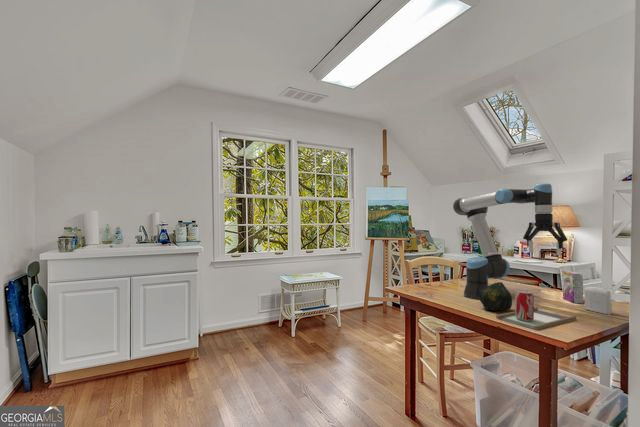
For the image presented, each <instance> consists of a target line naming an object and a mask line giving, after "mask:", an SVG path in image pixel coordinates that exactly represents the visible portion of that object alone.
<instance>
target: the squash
mask: <svg viewBox="0 0 640 427" xmlns="http://www.w3.org/2000/svg"><path fill="white" fill-rule="evenodd" d="M479 300H480V303H481V305H482V306H483V308H484V309H486V310H488V311H493V312H494V311H509V310H510V309H511V307H513V306H512V305H513V297H512V294H511V292H510V291H509V290H508V289H507V287H506V286H505V285H504V284H503V282H502V281H501V282H500V281H499V282H494V283H492V284H490V285H489V284H488V286H487V287H485V288H484V289H482V291H481V293H480V299H479Z"/></svg>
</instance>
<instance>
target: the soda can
mask: <svg viewBox="0 0 640 427" xmlns="http://www.w3.org/2000/svg"><path fill="white" fill-rule="evenodd" d="M514 298H515V300H514V301H515V302H514V303H515V311H516V318H517V319H518V320H521V321H526V322H531V321H533V320H534V307H535V305H534V303H535V300H534V294H533V291H528V290H525V289H521V290H520V289H518V290H516V292H515V297H514Z"/></svg>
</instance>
